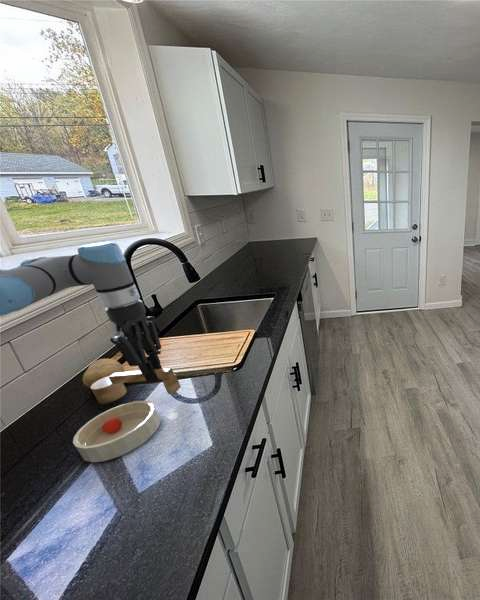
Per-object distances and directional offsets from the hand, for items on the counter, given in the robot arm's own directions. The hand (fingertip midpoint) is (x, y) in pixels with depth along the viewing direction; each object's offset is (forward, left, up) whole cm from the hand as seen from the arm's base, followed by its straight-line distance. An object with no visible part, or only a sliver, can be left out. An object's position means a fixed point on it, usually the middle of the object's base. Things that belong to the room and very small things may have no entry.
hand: (156, 378), depth 89 cm
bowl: (-2, -14, -8) cm, 16 cm away
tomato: (-5, -12, -5) cm, 14 cm away
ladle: (-6, 0, -5) cm, 8 cm away
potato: (-24, +10, -8) cm, 27 cm away
